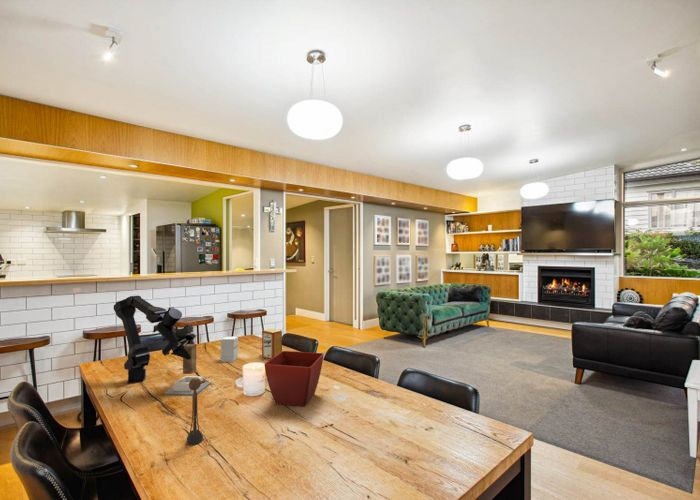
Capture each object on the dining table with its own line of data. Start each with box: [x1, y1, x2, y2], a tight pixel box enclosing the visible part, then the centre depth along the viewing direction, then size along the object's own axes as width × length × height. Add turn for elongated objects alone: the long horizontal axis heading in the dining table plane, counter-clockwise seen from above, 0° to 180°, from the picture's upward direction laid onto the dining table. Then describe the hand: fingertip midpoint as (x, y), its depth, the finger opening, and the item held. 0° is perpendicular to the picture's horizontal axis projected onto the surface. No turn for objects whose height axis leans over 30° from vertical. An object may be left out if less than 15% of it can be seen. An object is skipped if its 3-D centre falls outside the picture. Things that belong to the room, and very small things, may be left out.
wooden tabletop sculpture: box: [185, 378, 207, 446], centre depth 111 cm, size 6×5×20 cm
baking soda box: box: [261, 328, 283, 361], centre depth 200 cm, size 10×6×16 cm
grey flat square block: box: [163, 375, 212, 396], centre depth 154 cm, size 14×14×4 cm
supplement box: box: [220, 336, 239, 363], centre depth 196 cm, size 7×7×13 cm
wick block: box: [182, 343, 197, 375], centre depth 155 cm, size 4×4×12 cm
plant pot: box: [264, 350, 324, 407], centre depth 142 cm, size 19×19×17 cm
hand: (192, 357), depth 155 cm, fingers closed on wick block, 4 cm apart
